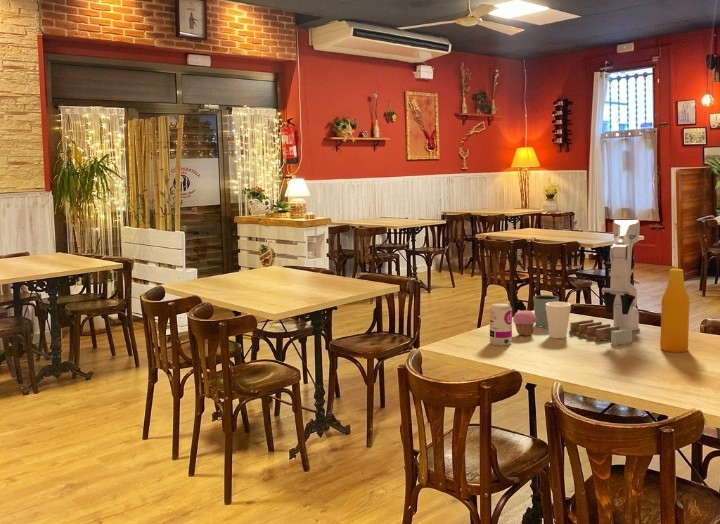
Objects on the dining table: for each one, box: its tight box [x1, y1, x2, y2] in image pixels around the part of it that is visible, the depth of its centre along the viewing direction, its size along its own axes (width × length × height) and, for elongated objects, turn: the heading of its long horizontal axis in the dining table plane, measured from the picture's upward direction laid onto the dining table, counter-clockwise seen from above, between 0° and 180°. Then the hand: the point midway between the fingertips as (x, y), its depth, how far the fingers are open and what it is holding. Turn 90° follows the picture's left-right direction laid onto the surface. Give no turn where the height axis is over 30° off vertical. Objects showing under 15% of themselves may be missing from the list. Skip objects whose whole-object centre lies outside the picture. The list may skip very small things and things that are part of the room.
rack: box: [568, 319, 619, 342], centre depth 282 cm, size 12×15×4 cm
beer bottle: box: [659, 268, 691, 353], centre depth 257 cm, size 9×9×29 cm
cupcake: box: [512, 309, 536, 337], centre depth 285 cm, size 9×9×10 cm
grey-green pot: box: [532, 294, 559, 328], centre depth 301 cm, size 10×10×12 cm
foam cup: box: [546, 301, 572, 339], centre depth 281 cm, size 10×9×13 cm
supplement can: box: [489, 302, 513, 347], centre depth 273 cm, size 8×8×15 cm
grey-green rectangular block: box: [610, 329, 633, 346], centre depth 269 cm, size 8×2×5 cm, turn 115°
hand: (617, 313), depth 269 cm, fingers open, 7 cm apart
